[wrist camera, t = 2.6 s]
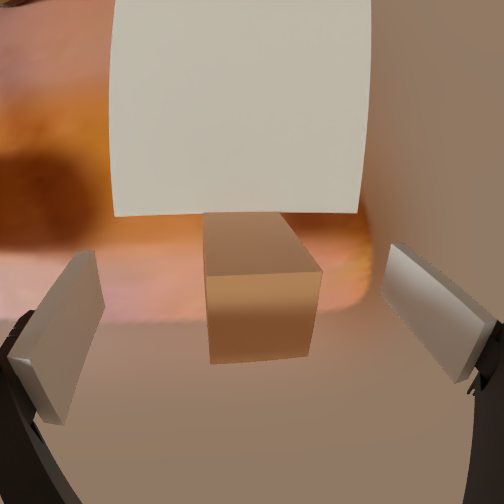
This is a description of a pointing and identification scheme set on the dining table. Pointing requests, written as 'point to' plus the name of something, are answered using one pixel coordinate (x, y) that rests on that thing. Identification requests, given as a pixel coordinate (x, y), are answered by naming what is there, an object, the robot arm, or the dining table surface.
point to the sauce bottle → (10, 3)
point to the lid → (242, 146)
